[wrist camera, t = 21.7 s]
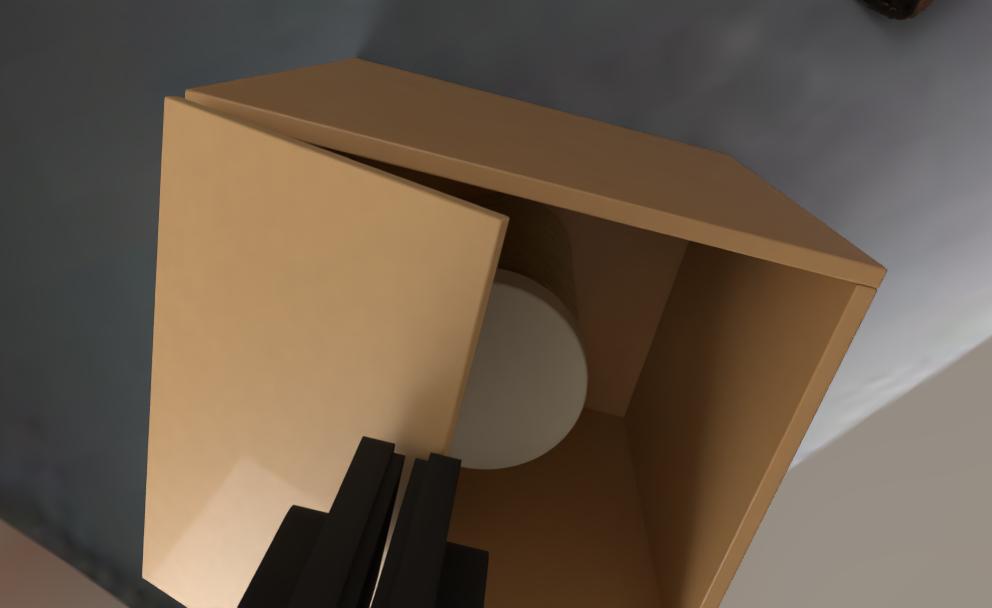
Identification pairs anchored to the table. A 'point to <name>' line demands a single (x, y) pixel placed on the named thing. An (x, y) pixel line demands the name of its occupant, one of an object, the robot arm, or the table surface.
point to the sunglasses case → (897, 7)
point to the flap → (293, 338)
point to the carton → (616, 328)
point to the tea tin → (524, 346)
